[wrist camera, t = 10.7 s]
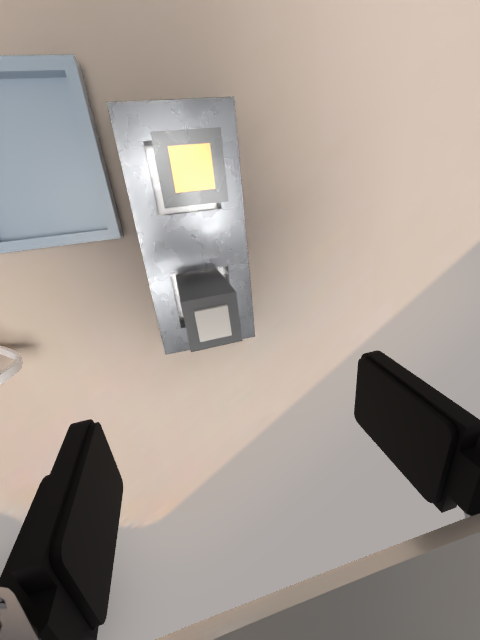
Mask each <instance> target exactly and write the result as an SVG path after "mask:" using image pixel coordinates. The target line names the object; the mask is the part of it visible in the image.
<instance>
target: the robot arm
mask: <svg viewBox="0 0 480 640" xmlns="http://www.w3.org/2000/svg"><path fill="white" fill-rule="evenodd" d="M354 415H355V419H356V421H357V422H358V423H359V425H360V426H361V427H362V428H363V429H364V430H365V432H366V433H367V434H368V435H369V436H370V437H371V438H372V440H373V441H374V442H375V443H376V444H377V445H378V446H379V447H380V448H381V450H382V451H383V452H384V453H385V454H386V455H387V457H388V458H389V459H390V460H391V461H392V462H393V463H394V464H395V466H396V467H397V468H398V469H399V470H400V471H401V472H402V474H403V475H404V476H405V477H406V478H407V479H408V480H409V481H410V482H411V484H412V485H413V486H414V487H415V488H416V489H417V490H418V492H419V493H420V494H421V495H422V496H423V497H424V498H425V499H426V500H427V501H428V502H430V503H433V504H434V505H435V506H436V507H437V508H438V509H439V510H440V511H441V512H445V511H448V510H450V509H453V508H455V507H456V506H457V505H458V506H459V507H460V508H461V509H462V510H463V511H464V514H465V519H463V520H460V521H457V522H455V523H452V524H450V525H447V526H444V527H442V528H439V529H437V530H434V531H431V532H429V533H426V534H423V535H421V536H418V537H416V538H413V539H410V540H408V541H405V542H402V543H400V544H397V545H394V546H392V547H389V548H387V549H384V550H381V551H379V552H376V553H374V554H372V555H369V556H366V557H363V558H361V559H358V560H356V561H353V562H351V563H348V564H345V565H343V566H340V567H338V568H335V569H332V570H330V571H327V572H325V573H322V574H320V575H317V576H315V577H312V578H309V579H307V580H304V581H302V582H299V583H296V584H294V585H291V586H289V587H286V588H284V589H281V590H279V591H276V592H274V593H271V594H268V595H266V596H263V597H261V598H258V599H256V600H253V601H251V602H248V603H246V604H243V605H241V606H238V607H236V608H233V609H230V610H228V611H225V612H223V613H220V614H218V615H215V616H213V617H210V618H208V619H205V620H203V621H200V622H198V623H195V624H193V625H190V626H188V627H185V628H182V629H180V630H178V631H175V632H173V633H171V634H168V635H166V636H163V637H161V638H159V639H156V640H480V420H479V419H478V418H476V417H475V416H473V415H472V414H471V413H469V412H468V411H466V410H465V409H463V408H462V407H460V406H459V405H458V404H456V403H455V402H453V401H452V400H450V399H449V398H447V397H446V396H444V395H443V394H442V393H440V392H439V391H437V390H436V389H434V388H433V387H431V386H430V385H428V384H427V383H426V382H424V381H423V380H421V379H420V378H418V377H417V376H416V375H414V374H413V373H411V372H410V371H408V370H407V369H405V368H404V367H402V366H401V365H400V364H398V363H396V362H395V361H394V360H392V359H391V358H389V357H388V356H386V355H385V354H384V353H382V352H380V351H373V352H369V353H365V354H363V355H362V357H361V359H359V361H358V372H357V385H356V398H355V410H354ZM122 494H123V482H122V478H121V475H120V473H119V470H118V468H117V465H116V463H115V460H114V457H113V455H112V452H111V450H110V447H109V445H108V442H107V440H106V437H105V435H104V432H103V430H102V427H101V425H100V423H99V422H97V423H94V422H93V420H91V419H90V420H86V421H81V422H77V423H73V424H71V425H70V427H69V429H68V431H67V434H66V436H65V439H64V441H63V444H62V446H61V449H60V451H59V454H58V456H57V458H56V461H55V463H54V466H53V468H52V471H51V473H50V475H47V476H46V477H44V478H43V480H42V482H41V483H40V485H39V488H38V490H37V492H36V495H35V497H34V500H33V502H32V504H31V507H30V509H29V511H28V514H27V516H26V518H25V521H24V523H23V525H22V528H21V530H20V533H19V535H18V537H17V540H16V542H15V544H14V546H13V549H12V551H11V553H10V556H9V558H8V561H7V563H6V565H5V568H4V570H3V572H2V575H1V577H0V640H97V633H98V626H99V625H102V624H104V622H105V619H106V615H107V608H108V600H109V593H110V585H111V578H112V570H113V563H114V555H115V548H116V539H117V532H118V525H119V517H120V510H121V502H122Z"/></svg>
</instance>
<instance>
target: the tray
mask: <svg viewBox="0 0 480 640" xmlns="http://www.w3.org/2000/svg"><path fill="white" fill-rule="evenodd" d="M121 237H123V232H122V228H121V224H120V220H119V217H118V213H117V209H116V205H115V201H114V197H113V193H112V189H111V185H110V181H109V177H108V173H107V169H106V165H105V161H104V157H103V153H102V149H101V146H100V142H99V138H98V134H97V130H96V126H95V122H94V118H93V114H92V110H91V106H90V102H89V98H88V94H87V90H86V86H85V82H84V78H83V75H82V71H81V67H80V65H79V63H78V61H77V60H76V58H75V56H74V55H16V56H0V253H8V252H16V251H24V250H31V249H39V248H47V247H55V246H63V245H71V244H78V243H86V242H94V241H102V240H110V239H118V238H121Z"/></svg>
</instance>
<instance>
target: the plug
mask: <svg viewBox="0 0 480 640" xmlns="http://www.w3.org/2000/svg"><path fill="white" fill-rule="evenodd" d="M176 281H177V286H178V292H179V298H180V303H181V308H182V312H183V317H184V322H185V326H186V331H187V336H188V340H189V345H190V350H191V352H194V351H199V350H203V349H208V348H212V347H216V346H221V345H225V344H230V343H234V342H239V341H242V333H241V326H240V318H239V310H238V302H237V295H236V291H235V290H234V288H233V287H232V286H231V285H230V284H229V282H228V281H227V280H226V279H225V278H224V276H223V275H222V274H221V273H220V272H219V270H218V269H213V270H207V271H202V272H196V273H190V274H184V275H179V276H176Z"/></svg>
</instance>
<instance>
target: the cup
mask: <svg viewBox="0 0 480 640" xmlns="http://www.w3.org/2000/svg"><path fill="white" fill-rule="evenodd" d="M0 355H3V356H6V357H9V358H11V359H14V360H15V362H13V363H12V364H11V365H10V366H9V367H7V368H6V369H4V370H3V371H1V372H0V384H2V383H4V382H5V381H7V380H8V379H9V378H11V377H12V376H14V375H15V374H16V373H17V372H18V371H19V370H20V369H21V368H22V364H23V361H22V357H21V354H19V353H18V352H17V351H16V350H13V349H10V348H7V347H4V346H1V345H0Z"/></svg>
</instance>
